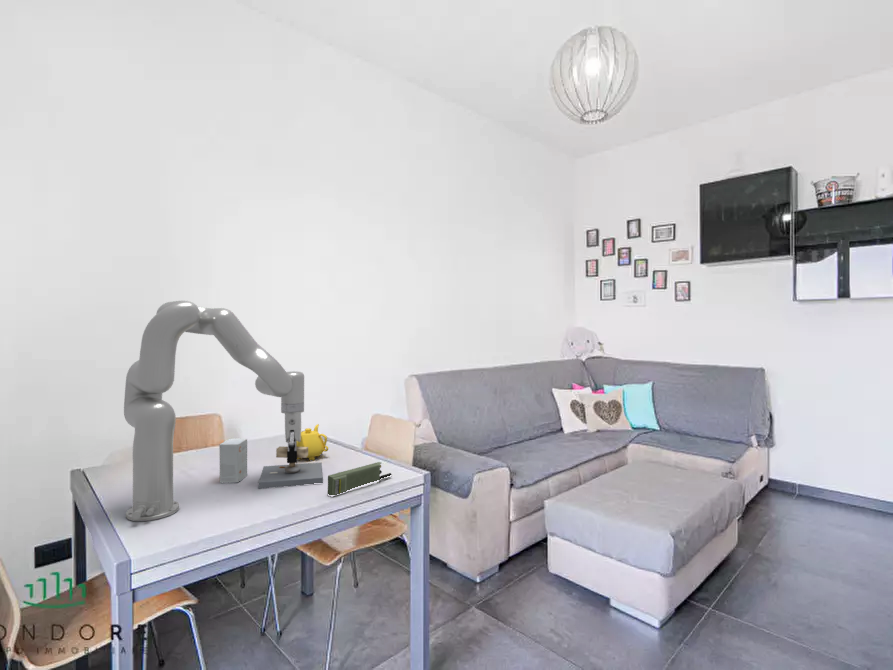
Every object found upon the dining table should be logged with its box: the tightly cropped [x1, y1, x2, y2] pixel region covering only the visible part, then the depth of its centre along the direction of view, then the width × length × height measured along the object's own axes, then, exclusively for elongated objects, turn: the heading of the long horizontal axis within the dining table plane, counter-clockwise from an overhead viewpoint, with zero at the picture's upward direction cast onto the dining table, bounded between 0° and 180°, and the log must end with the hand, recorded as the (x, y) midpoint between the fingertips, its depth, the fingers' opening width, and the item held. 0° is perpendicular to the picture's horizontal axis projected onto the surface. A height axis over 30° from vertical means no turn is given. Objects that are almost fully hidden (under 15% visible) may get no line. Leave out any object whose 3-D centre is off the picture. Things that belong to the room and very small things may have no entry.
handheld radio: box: [327, 461, 393, 496], centre depth 154 cm, size 7×3×25 cm
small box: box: [219, 438, 248, 484], centre depth 159 cm, size 8×6×13 cm
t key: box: [275, 446, 308, 473], centre depth 162 cm, size 10×5×8 cm, turn 89°
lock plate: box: [257, 462, 324, 489], centre depth 162 cm, size 18×20×2 cm
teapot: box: [297, 423, 329, 461], centre depth 186 cm, size 20×15×12 cm
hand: (292, 459), depth 162 cm, fingers open, 5 cm apart
